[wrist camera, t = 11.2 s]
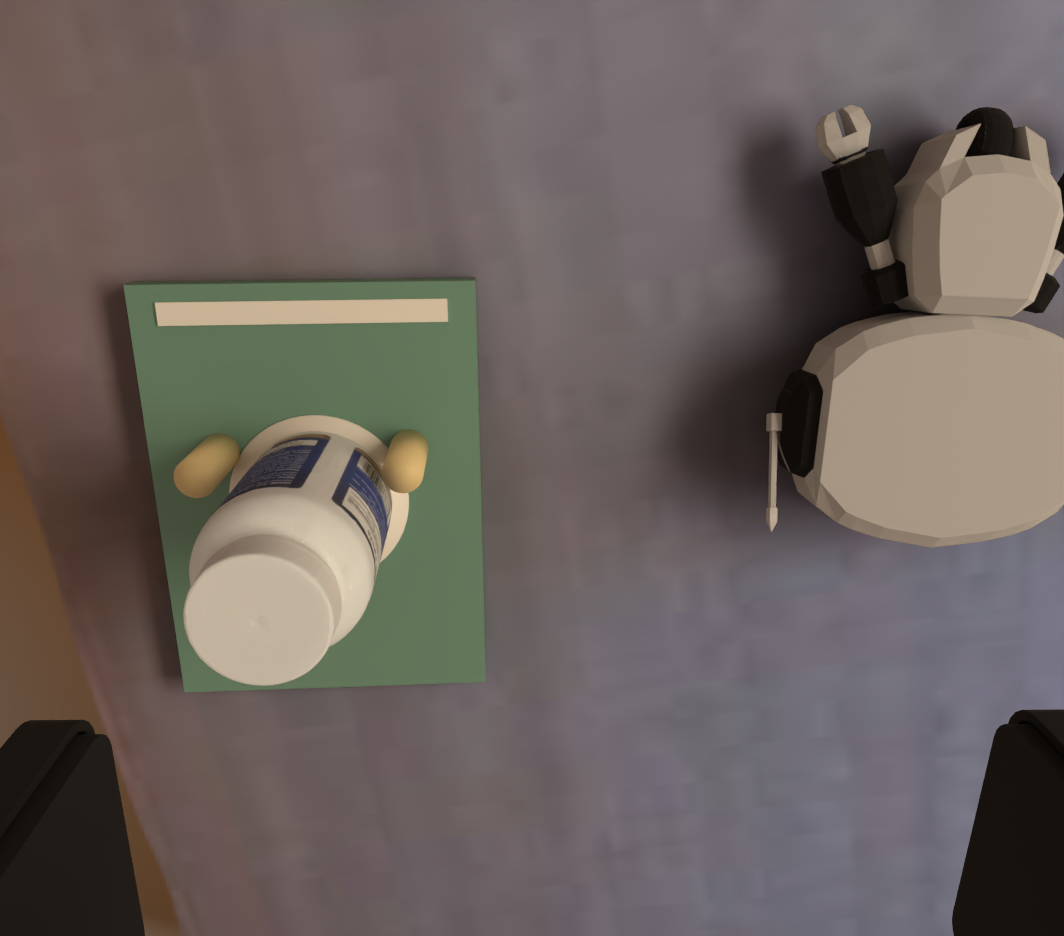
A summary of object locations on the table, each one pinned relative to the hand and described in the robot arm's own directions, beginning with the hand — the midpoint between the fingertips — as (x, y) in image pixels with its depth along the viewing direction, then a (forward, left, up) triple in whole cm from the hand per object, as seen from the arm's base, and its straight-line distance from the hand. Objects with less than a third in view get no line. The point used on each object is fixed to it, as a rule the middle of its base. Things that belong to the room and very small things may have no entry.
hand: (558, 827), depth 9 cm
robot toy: (-1, +16, -25) cm, 29 cm away
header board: (+5, -7, -24) cm, 26 cm away
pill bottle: (+5, -7, -24) cm, 25 cm away
